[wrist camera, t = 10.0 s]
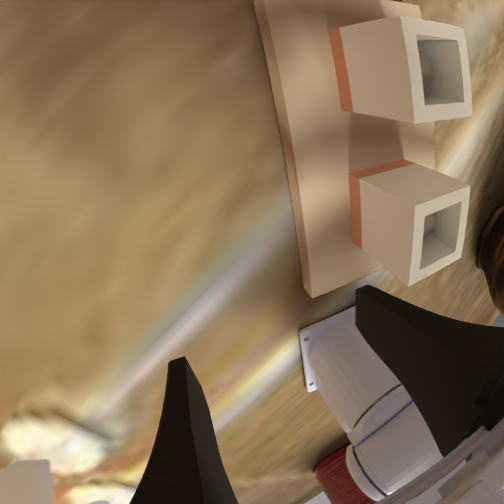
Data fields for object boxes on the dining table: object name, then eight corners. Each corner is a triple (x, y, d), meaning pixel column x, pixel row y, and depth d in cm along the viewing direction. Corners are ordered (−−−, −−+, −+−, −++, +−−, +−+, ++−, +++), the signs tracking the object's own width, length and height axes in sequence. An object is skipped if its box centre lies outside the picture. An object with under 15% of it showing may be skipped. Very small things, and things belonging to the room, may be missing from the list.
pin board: (418, 239, 26) (465, 270, 21) (303, 287, 24) (344, 337, 19) (405, 7, 16) (467, 1, 11) (253, 1, 14) (300, -33, 9)
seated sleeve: (403, 221, 22) (460, 257, 17) (352, 241, 21) (408, 286, 16) (404, 159, 20) (470, 185, 15) (348, 173, 19) (414, 206, 14)
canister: (377, 426, 44) (430, 501, 30) (372, 449, 51) (414, 512, 36) (309, 462, 43) (355, 545, 28) (315, 479, 49) (352, 547, 34)
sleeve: (401, 102, 18) (472, 116, 13) (341, 110, 17) (414, 124, 12) (391, 32, 15) (463, 28, 10) (327, 30, 14) (399, 15, 9)
